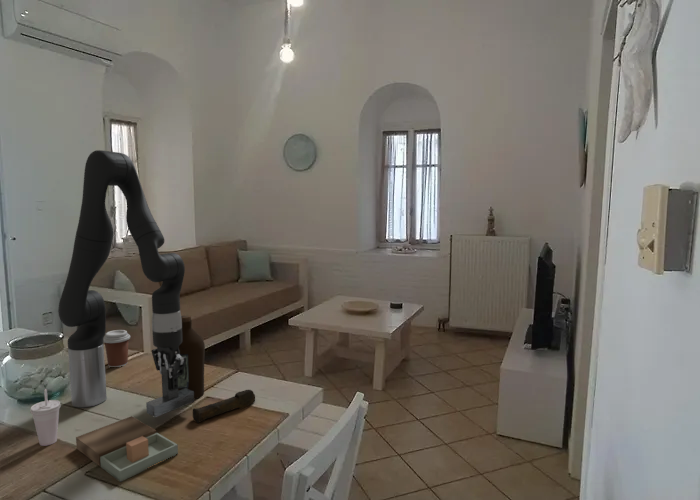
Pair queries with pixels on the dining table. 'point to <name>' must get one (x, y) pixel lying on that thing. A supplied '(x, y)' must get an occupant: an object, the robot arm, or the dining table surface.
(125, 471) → the box
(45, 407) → the smoothie
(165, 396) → the scraper
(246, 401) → the hand tool
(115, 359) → the coffee cup
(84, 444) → the brown slab
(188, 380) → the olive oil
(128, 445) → the tile
